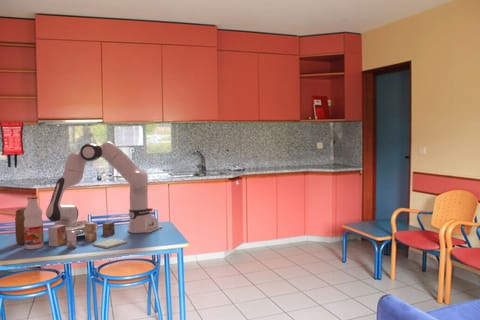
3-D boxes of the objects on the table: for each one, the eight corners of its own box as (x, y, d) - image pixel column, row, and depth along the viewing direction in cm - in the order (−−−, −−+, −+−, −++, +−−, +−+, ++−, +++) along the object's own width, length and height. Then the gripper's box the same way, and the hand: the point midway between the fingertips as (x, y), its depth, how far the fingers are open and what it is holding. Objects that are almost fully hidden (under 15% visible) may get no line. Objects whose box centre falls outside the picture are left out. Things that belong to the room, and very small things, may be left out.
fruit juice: (47, 245, 231) (45, 195, 229) (33, 250, 222) (31, 198, 221) (35, 244, 235) (33, 195, 233) (20, 248, 226) (18, 197, 224)
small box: (57, 246, 229) (56, 227, 228) (48, 246, 230) (47, 227, 230) (66, 243, 237) (65, 224, 236) (57, 242, 238) (56, 224, 237)
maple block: (91, 239, 246) (91, 222, 245) (96, 240, 243) (96, 223, 242) (85, 240, 242) (84, 223, 241) (90, 241, 239) (89, 224, 239)
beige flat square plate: (113, 240, 242) (113, 238, 242) (127, 242, 236) (127, 241, 236) (92, 245, 231) (92, 243, 231) (107, 248, 224) (107, 246, 224)
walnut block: (109, 232, 261) (109, 221, 261) (114, 233, 259) (114, 222, 258) (102, 234, 257) (102, 223, 257) (108, 235, 255) (107, 224, 254)
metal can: (73, 246, 230) (72, 230, 229) (78, 247, 227) (78, 231, 227) (64, 248, 226) (64, 231, 225) (70, 249, 223) (69, 233, 222)
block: (28, 245, 234) (27, 209, 232) (14, 245, 233) (13, 210, 232) (36, 240, 244) (35, 206, 243) (23, 240, 244) (21, 206, 243)
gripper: (58, 226, 242) (73, 228, 234) (88, 219, 259) (103, 222, 251) (59, 236, 242) (73, 240, 235) (89, 230, 259) (103, 232, 252)
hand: (89, 230), depth 243 cm, fingers open, 8 cm apart
